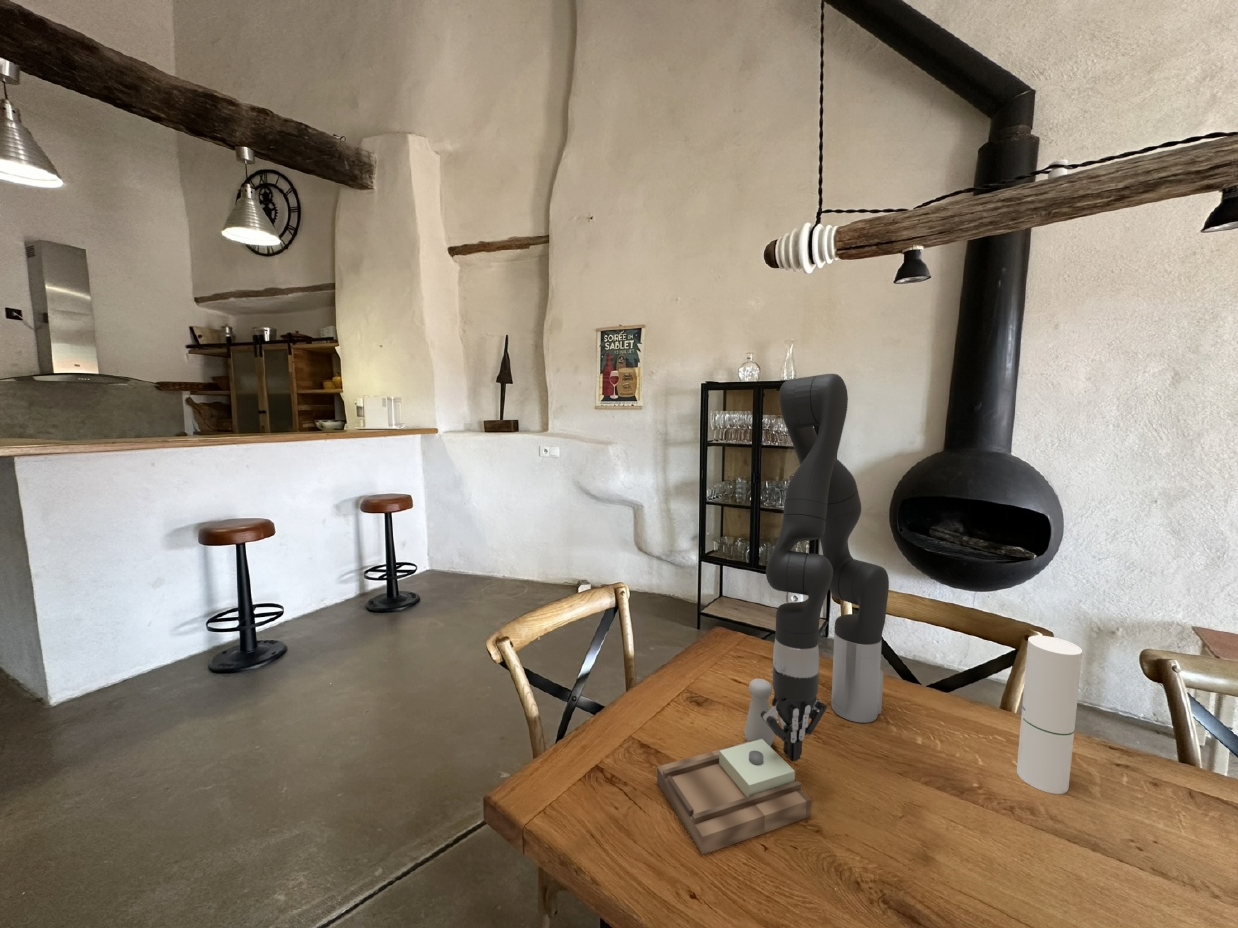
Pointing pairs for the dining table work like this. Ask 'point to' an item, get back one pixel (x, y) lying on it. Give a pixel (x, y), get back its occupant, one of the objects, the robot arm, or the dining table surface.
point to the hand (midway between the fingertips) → (792, 757)
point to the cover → (755, 767)
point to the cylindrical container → (1049, 713)
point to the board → (726, 803)
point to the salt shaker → (759, 712)
